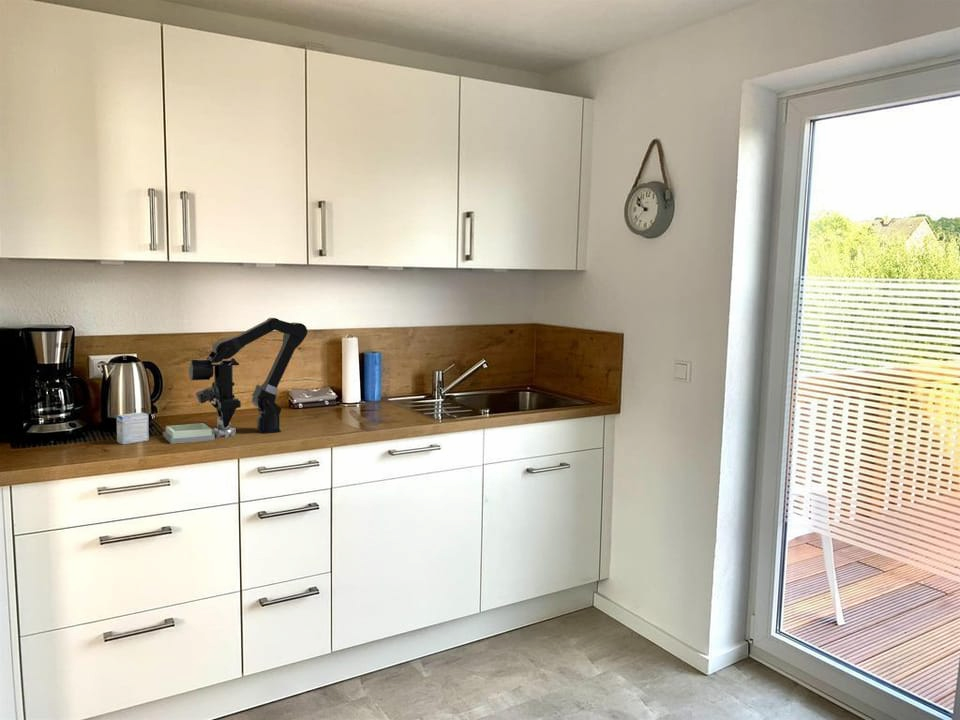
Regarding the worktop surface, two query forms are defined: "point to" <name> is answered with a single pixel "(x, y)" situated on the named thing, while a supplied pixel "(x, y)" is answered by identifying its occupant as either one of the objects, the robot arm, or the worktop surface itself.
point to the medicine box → (132, 428)
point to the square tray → (188, 433)
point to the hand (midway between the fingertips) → (223, 426)
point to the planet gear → (223, 429)
